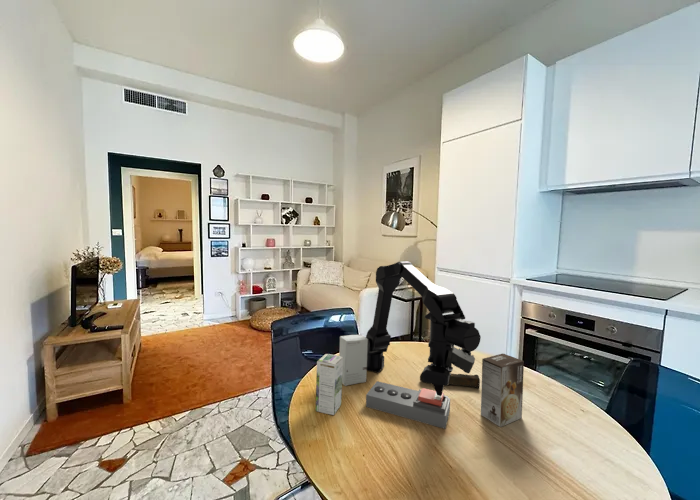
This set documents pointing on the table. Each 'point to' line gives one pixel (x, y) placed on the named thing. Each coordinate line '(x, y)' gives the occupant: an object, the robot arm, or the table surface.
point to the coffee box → (502, 389)
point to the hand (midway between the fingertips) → (439, 395)
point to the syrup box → (329, 384)
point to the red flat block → (430, 397)
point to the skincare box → (353, 358)
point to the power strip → (407, 404)
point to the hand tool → (462, 380)
